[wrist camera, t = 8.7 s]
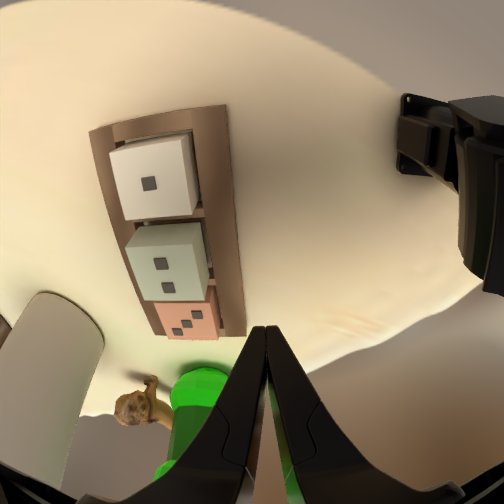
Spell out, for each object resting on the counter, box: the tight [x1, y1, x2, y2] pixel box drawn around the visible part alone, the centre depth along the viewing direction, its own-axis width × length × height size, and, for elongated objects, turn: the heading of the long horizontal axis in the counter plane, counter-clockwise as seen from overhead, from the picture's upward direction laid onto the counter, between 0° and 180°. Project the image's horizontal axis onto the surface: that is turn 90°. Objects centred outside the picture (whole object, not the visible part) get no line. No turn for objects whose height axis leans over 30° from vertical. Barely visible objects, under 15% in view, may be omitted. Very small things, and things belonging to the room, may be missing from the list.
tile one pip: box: [109, 132, 200, 220], centre depth 17 cm, size 5×5×3 cm
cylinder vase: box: [0, 293, 104, 490], centre depth 20 cm, size 12×12×25 cm
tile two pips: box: [125, 222, 210, 301], centre depth 20 cm, size 5×5×3 cm
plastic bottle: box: [153, 367, 229, 481], centre depth 25 cm, size 10×10×25 cm
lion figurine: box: [114, 375, 174, 430], centre depth 34 cm, size 15×5×9 cm, turn 47°
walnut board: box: [89, 105, 247, 337], centre depth 22 cm, size 10×21×2 cm, turn 3°
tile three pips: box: [154, 285, 221, 340], centre depth 25 cm, size 5×5×3 cm
